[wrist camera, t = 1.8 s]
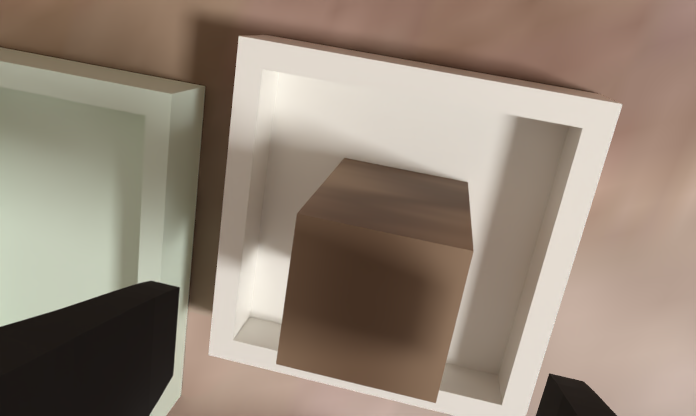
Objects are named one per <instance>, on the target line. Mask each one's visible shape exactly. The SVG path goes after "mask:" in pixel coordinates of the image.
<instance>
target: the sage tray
mask: <svg viewBox="0 0 696 416" xmlns="http://www.w3.org/2000/svg"><path fill="white" fill-rule="evenodd" d="M205 87H206V86H202V85H197V84H192V83H186V82H181V81H176V80H170V79H165V78H160V77H155V76H149V75H144V74H139V73H134V72H128V71H123V70H118V69H112V68H107V67H102V66H97V65H91V64H86V63H81V62H76V61H70V60H65V59H60V58H55V57H49V56H44V55H39V54H33V53H28V52H23V51H18V50H12V49H7V48H2V47H0V327H1V326H5V325H8V324H11V323H15V322H18V321H22V320H25V319H28V318H32V317H35V316H38V315H42V314H45V313H49V312H52V311H55V310H58V309H62V308H65V307H68V306H71V305H74V304H77V303H80V302H83V301H86V300H89V299H92V298H95V297H98V296H101V295H104V294H107V293H110V292H113V291H116V290H119V289H122V288H125V287H128V286H131V285H135V284H138V283H142V282H147V281H155V282H160V283H164V284H168V285H172V286H177V287H180V291H179V305H178V319H177V332H176V346H175V359H174V373H173V377H172V378H171V380H170V382H169V384H168V385H167V387H166V389H165V390H164V392H163V394H162V396H161V397H160V399H159V401H158V402H157V404H156V405H155V407H154V409H153V410H152V412H151V414H150V415H149V416H166V415H167V414H168V412H169V411H170V410H171V408H172V407H173V406H174V404H175V403H176V402H177V400H178V399H179V397H180V396H181V389H182V376H183V364H184V351H185V339H186V326H187V313H188V301H189V288H190V276H191V263H192V250H193V238H194V225H195V213H196V200H197V188H198V175H199V162H200V150H201V137H202V125H203V112H204V99H205Z"/></svg>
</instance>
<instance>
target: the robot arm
mask: <svg viewBox="0 0 696 416" xmlns="http://www.w3.org/2000/svg"><path fill="white" fill-rule="evenodd" d="M179 291H180V287H177V286H172V285H168V284H164V283H160V282H155V281H147V282H142V283H138V284H135V285H131V286H128V287H125V288H122V289H119V290H116V291H113V292H110V293H107V294H104V295H101V296H98V297H95V298H92V299H89V300H86V301H83V302H80V303H77V304H74V305H71V306H68V307H65V308H62V309H58V310H55V311H52V312H49V313H45V314H42V315H38V316H35V317H32V318H28V319H25V320H22V321H18V322H15V323H11V324H8V325H5V326H1V327H0V416H149V415H150V414H151V412H152V410H153V409H154V407H155V405H156V404H157V402H158V401H159V399H160V397H161V396H162V394H163V392H164V390H165V389H166V387H167V385H168V384H169V382H170V380H171V378H172V377H173V373H174V359H175V346H176V332H177V319H178V305H179ZM536 416H617V415H616V414H615V413H614V412H613V411H612V410H611V409H610V408H609V407H608V406H607V405H606V404H605V402H604V401H603V400H602V399H601V398H600V397H599V396H598V395H597V394H596V393H595V392H594V391H593V390H592V389H591V388H590V387H589V386H588V385H587V384H586V383H585V382H583V381H579V380H575V379H571V378H566V377H562V376H558V375H553V374H549V376H548V379H547V383H546V386H545V389H544V392H543V395H542V398H541V402H540V405H539V408H538V411H537V414H536Z"/></svg>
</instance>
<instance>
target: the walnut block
mask: <svg viewBox="0 0 696 416" xmlns="http://www.w3.org/2000/svg"><path fill="white" fill-rule="evenodd" d="M473 252H474V250H473V238H472V226H471V214H470V202H469V190H468V182H464V181H459V180H454V179H449V178H444V177H439V176H434V175H429V174H424V173H419V172H414V171H409V170H404V169H399V168H394V167H389V166H384V165H379V164H373V163H368V162H363V161H358V160H353V159H348V158H344V159H343V160H342V161H341V162H340V163H339V165H338V166H337V167H336V168H335V169H334V171H333V172H332V173H331V174H330V175H329V176H328V178H327V179H326V180H325V181H324V182H323V183H322V185H321V186H320V187H319V188H318V189H317V190H316V192H315V193H314V194H313V195H312V196H311V198H310V199H309V200H308V201H307V202H306V203H305V205H304V206H303V207H302V208H301V209H300V210H299V212H298V213H297V216H296V223H295V230H294V237H293V245H292V252H291V259H290V266H289V273H288V281H287V288H286V295H285V302H284V309H283V317H282V324H281V331H280V338H279V345H278V353H277V360H276V364H278V365H282V366H286V367H290V368H294V369H298V370H302V371H306V372H310V373H314V374H318V375H322V376H327V377H331V378H335V379H339V380H343V381H347V382H351V383H355V384H359V385H363V386H367V387H371V388H376V389H380V390H384V391H388V392H392V393H396V394H400V395H404V396H408V397H412V398H416V399H420V400H425V401H429V402H433V403H436V401H437V396H438V392H439V388H440V384H441V380H442V376H443V372H444V368H445V364H446V360H447V356H448V352H449V348H450V344H451V340H452V336H453V332H454V328H455V324H456V320H457V316H458V312H459V308H460V304H461V300H462V296H463V292H464V288H465V284H466V280H467V276H468V272H469V268H470V264H471V260H472V256H473Z"/></svg>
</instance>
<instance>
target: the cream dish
mask: <svg viewBox="0 0 696 416" xmlns="http://www.w3.org/2000/svg"><path fill="white" fill-rule="evenodd" d="M621 107H622V104H621V103H619V102H617V101H615V100H612V99H610V98H608V97H606V96H604V95H601V94H598V93H592V92H586V91H581V90H575V89H569V88H564V87H558V86H552V85H547V84H541V83H535V82H530V81H524V80H518V79H513V78H507V77H501V76H496V75H490V74H484V73H479V72H473V71H467V70H462V69H456V68H450V67H445V66H439V65H433V64H428V63H422V62H416V61H411V60H405V59H399V58H394V57H388V56H383V55H377V54H371V53H366V52H360V51H354V50H349V49H343V48H337V47H332V46H326V45H320V44H315V43H309V42H303V41H298V40H292V39H286V38H281V37H275V36H269V35H249V36H239V39H238V50H237V60H236V71H235V81H234V92H233V102H232V113H231V123H230V134H229V144H228V155H227V165H226V176H225V186H224V197H223V207H222V218H221V228H220V239H219V249H218V260H217V271H216V281H215V292H214V302H213V313H212V323H211V334H210V344H209V355H210V356H214V357H219V358H223V359H227V360H231V361H235V362H239V363H243V364H247V365H251V366H255V367H259V368H263V369H267V370H271V371H275V372H279V373H283V374H287V375H292V376H296V377H300V378H304V379H308V380H312V381H316V382H320V383H324V384H328V385H332V386H336V387H340V388H344V389H348V390H352V391H356V392H361V393H365V394H369V395H373V396H377V397H381V398H385V399H389V400H393V401H397V402H401V403H405V404H409V405H413V406H417V407H421V408H425V409H429V410H434V411H438V412H442V413H446V414H450V415H454V416H526V413H527V410H528V407H529V404H530V400H531V397H532V394H533V391H534V388H535V384H536V381H537V378H538V375H539V371H540V368H541V365H542V362H543V359H544V355H545V352H546V349H547V346H548V342H549V339H550V336H551V333H552V330H553V326H554V323H555V320H556V317H557V313H558V310H559V307H560V304H561V301H562V297H563V294H564V291H565V288H566V284H567V281H568V278H569V275H570V272H571V268H572V265H573V262H574V259H575V255H576V252H577V249H578V246H579V243H580V239H581V236H582V233H583V230H584V226H585V223H586V220H587V217H588V214H589V210H590V207H591V204H592V201H593V198H594V194H595V191H596V188H597V185H598V181H599V178H600V175H601V172H602V169H603V165H604V162H605V159H606V156H607V152H608V149H609V146H610V143H611V140H612V136H613V133H614V130H615V127H616V123H617V120H618V117H619V114H620V111H621ZM344 158H348V159H353V160H358V161H363V162H368V163H373V164H379V165H384V166H389V167H394V168H399V169H404V170H409V171H414V172H419V173H424V174H429V175H434V176H439V177H444V178H449V179H454V180H459V181H464V182H468V190H469V202H470V214H471V226H472V238H473V250H474V252H473V256H472V260H471V264H470V268H469V272H468V276H467V280H466V284H465V288H464V292H463V296H462V300H461V304H460V308H459V312H458V316H457V320H456V324H455V328H454V332H453V336H452V340H451V344H450V348H449V352H448V356H447V360H446V364H445V368H444V372H443V376H442V380H441V384H440V388H439V392H438V396H437V401H436V403H433V402H429V401H425V400H420V399H416V398H412V397H408V396H404V395H400V394H396V393H392V392H388V391H384V390H380V389H376V388H371V387H367V386H363V385H359V384H355V383H351V382H347V381H343V380H339V379H335V378H331V377H327V376H322V375H318V374H314V373H310V372H306V371H302V370H298V369H294V368H290V367H286V366H282V365H278V364H276V360H277V353H278V345H279V338H280V331H281V324H282V317H283V309H284V302H285V295H286V288H287V281H288V273H289V266H290V259H291V252H292V245H293V237H294V230H295V223H296V216H297V213H298V212H299V210H300V209H301V208H302V207H303V206H304V205H305V203H306V202H307V201H308V200H309V199H310V198H311V196H312V195H313V194H314V193H315V192H316V190H317V189H318V188H319V187H320V186H321V185H322V183H323V182H324V181H325V180H326V179H327V178H328V176H329V175H330V174H331V173H332V172H333V171H334V169H335V168H336V167H337V166H338V165H339V163H340V162H341V161H342V160H343V159H344Z"/></svg>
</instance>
